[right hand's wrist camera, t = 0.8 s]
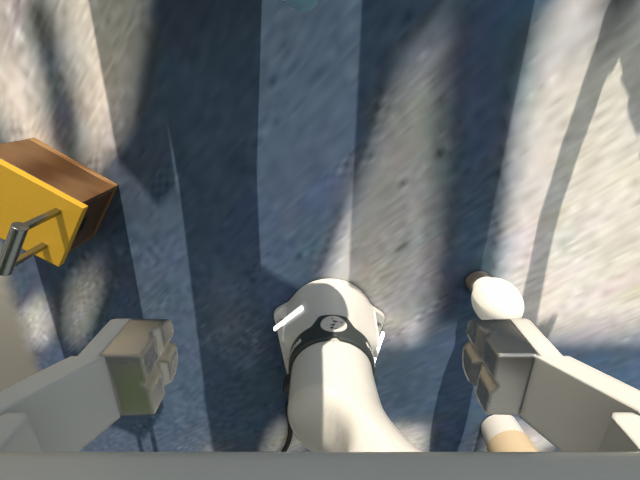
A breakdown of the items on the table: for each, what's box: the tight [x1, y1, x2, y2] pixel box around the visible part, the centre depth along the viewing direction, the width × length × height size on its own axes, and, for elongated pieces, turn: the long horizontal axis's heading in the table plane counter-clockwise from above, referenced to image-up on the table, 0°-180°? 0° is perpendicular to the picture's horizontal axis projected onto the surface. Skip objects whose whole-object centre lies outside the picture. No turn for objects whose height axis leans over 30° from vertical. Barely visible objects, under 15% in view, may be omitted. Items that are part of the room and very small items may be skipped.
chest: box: [0, 138, 118, 253], centre depth 52 cm, size 12×10×9 cm
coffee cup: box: [481, 415, 538, 452], centre depth 67 cm, size 9×9×15 cm
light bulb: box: [466, 271, 524, 320], centre depth 56 cm, size 7×7×11 cm
